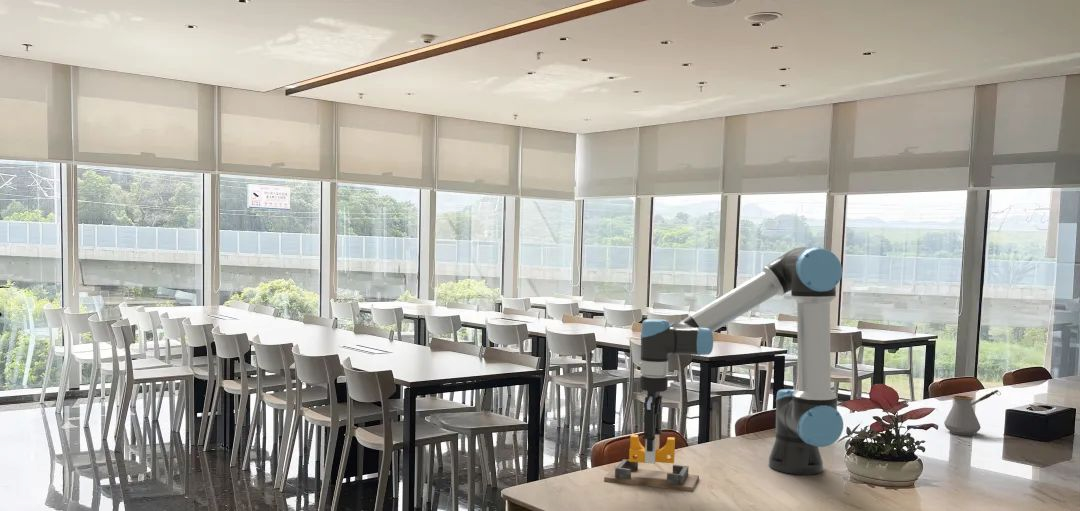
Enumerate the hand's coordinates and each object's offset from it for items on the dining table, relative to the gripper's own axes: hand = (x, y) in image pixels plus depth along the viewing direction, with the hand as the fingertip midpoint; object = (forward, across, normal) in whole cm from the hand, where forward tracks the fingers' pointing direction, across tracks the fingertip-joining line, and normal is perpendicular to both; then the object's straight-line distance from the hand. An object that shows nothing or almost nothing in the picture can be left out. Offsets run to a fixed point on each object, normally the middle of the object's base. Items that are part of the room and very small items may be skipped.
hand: (651, 460), depth 218 cm
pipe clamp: (+1, 0, 0) cm, 1 cm away
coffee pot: (+5, -102, +96) cm, 141 cm away
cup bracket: (+6, 0, 0) cm, 6 cm away
